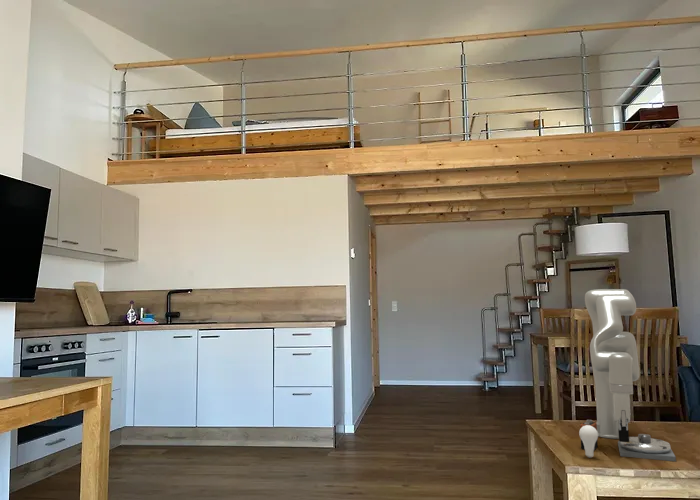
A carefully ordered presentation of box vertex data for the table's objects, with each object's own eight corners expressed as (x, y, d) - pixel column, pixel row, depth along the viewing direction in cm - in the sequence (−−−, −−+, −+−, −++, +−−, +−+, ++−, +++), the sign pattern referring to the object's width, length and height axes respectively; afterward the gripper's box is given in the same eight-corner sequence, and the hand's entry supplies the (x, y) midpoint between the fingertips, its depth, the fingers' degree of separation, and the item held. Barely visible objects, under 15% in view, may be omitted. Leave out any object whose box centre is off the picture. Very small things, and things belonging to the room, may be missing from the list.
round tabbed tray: (667, 444, 202) (666, 429, 202) (673, 455, 187) (672, 438, 188) (618, 440, 208) (617, 425, 209) (621, 450, 194) (620, 434, 194)
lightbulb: (597, 461, 187) (596, 427, 188) (578, 458, 190) (577, 425, 191) (600, 456, 192) (598, 424, 193) (581, 454, 195) (580, 422, 196)
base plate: (620, 456, 193) (620, 451, 193) (618, 445, 209) (617, 440, 209) (675, 461, 186) (675, 456, 186) (669, 449, 202) (668, 445, 202)
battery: (598, 447, 205) (596, 420, 206) (593, 451, 200) (591, 423, 201) (585, 445, 208) (584, 418, 209) (580, 449, 202) (579, 421, 204)
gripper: (609, 385, 205) (611, 436, 203) (610, 391, 192) (613, 445, 190) (631, 386, 202) (634, 438, 200) (634, 392, 189) (637, 447, 187)
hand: (624, 441), depth 195 cm, fingers closed
